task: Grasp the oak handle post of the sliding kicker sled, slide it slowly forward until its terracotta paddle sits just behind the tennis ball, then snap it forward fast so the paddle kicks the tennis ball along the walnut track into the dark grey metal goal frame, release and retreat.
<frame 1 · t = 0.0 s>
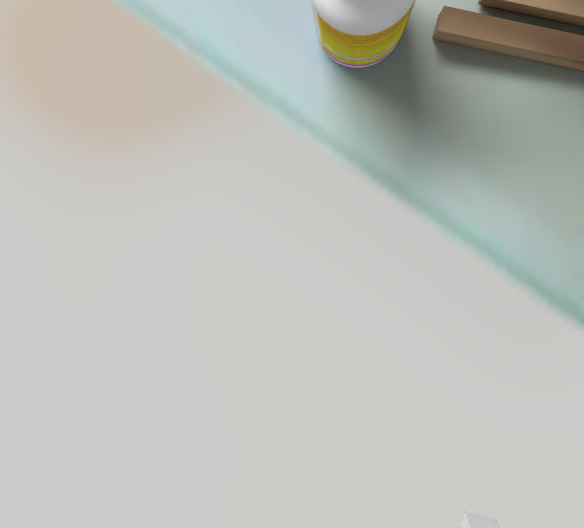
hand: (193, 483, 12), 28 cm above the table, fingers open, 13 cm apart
supplement bottle: (359, 23, 35), on the table
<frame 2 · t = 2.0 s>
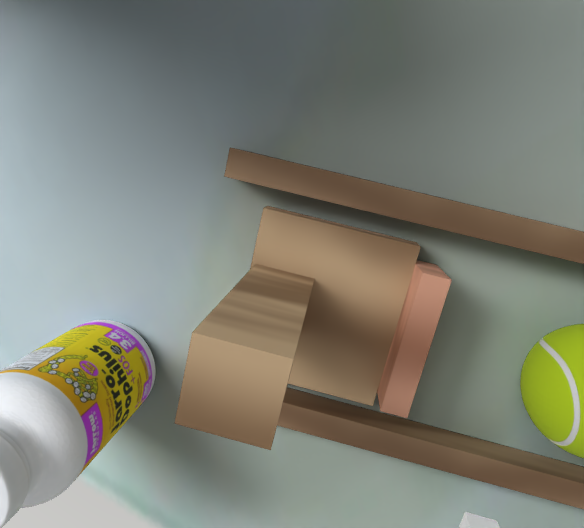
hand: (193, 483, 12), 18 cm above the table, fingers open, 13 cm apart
track rails: (416, 325, 28), on the table
tennis ball: (561, 361, 28), on the table
supplement bottle: (113, 361, 31), on the table
kicker: (330, 345, 22), point 7 cm above the table, slide at 0.0 cm
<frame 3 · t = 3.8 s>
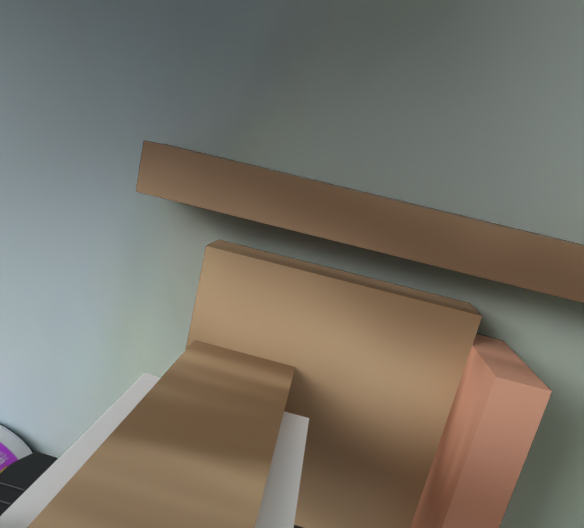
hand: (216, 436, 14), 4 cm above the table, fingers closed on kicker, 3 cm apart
track rails: (465, 436, 17), on the table
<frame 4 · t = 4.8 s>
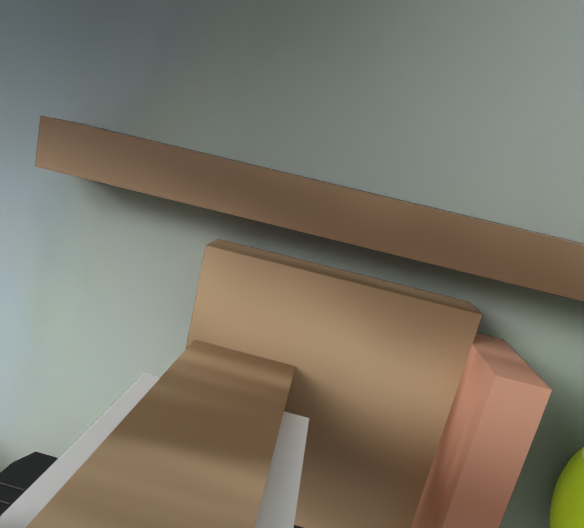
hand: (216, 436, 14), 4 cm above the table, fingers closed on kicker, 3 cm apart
track rails: (375, 411, 17), on the table
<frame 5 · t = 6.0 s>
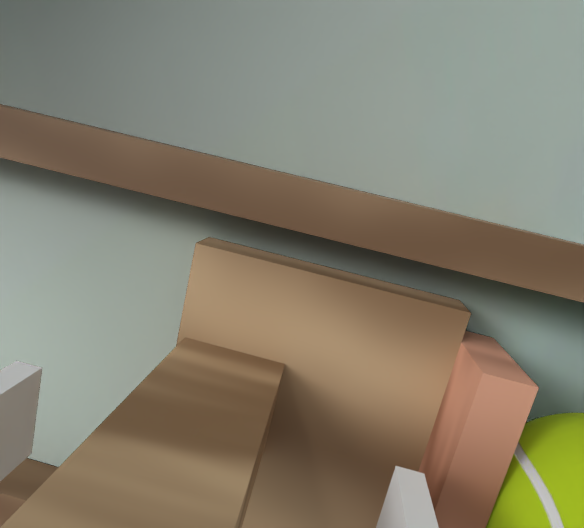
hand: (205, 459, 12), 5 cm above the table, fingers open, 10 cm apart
track rails: (182, 359, 18), on the table
tennis ball: (546, 461, 17), on the table
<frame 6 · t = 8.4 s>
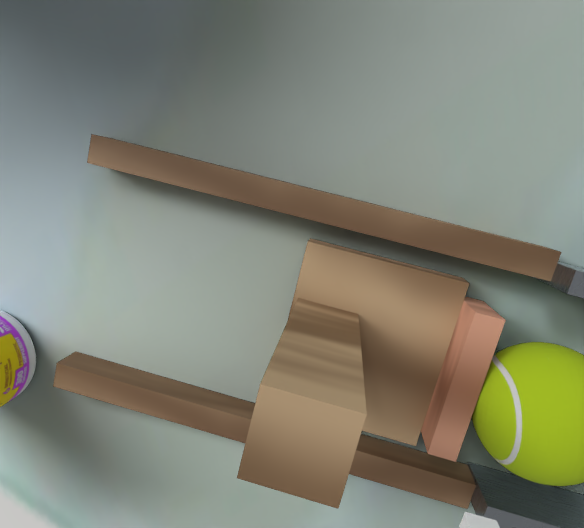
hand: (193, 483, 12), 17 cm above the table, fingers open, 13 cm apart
track rails: (287, 315, 28), on the table
tennis ball: (516, 380, 27), on the table
kicker: (382, 388, 21), point 7 cm above the table, slide at 10.7 cm
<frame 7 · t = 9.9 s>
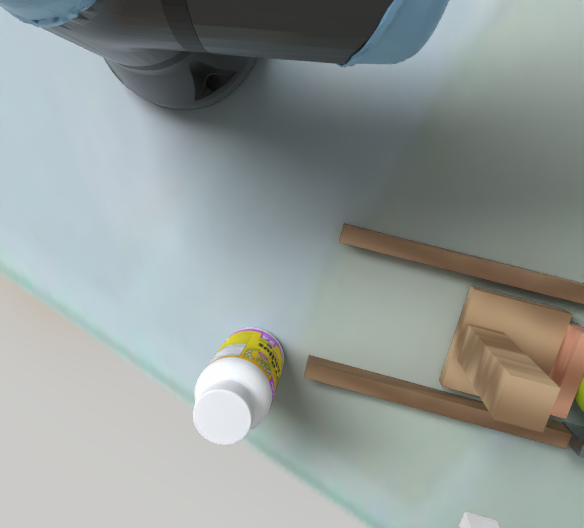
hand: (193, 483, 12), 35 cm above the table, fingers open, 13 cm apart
track rails: (452, 332, 45), on the table
supplement bottle: (254, 354, 48), on the table
kicker: (535, 376, 38), point 7 cm above the table, slide at 10.7 cm
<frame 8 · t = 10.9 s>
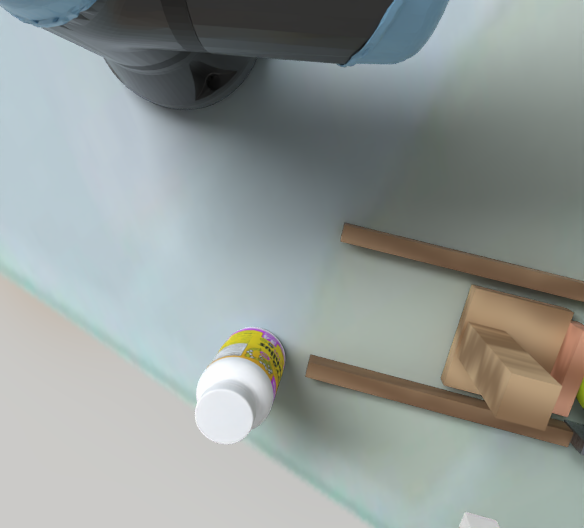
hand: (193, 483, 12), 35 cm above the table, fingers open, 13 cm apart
track rails: (453, 331, 45), on the table
supplement bottle: (255, 354, 48), on the table
kicker: (536, 374, 38), point 7 cm above the table, slide at 10.7 cm
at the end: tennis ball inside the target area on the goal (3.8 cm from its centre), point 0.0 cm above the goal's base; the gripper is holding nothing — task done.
